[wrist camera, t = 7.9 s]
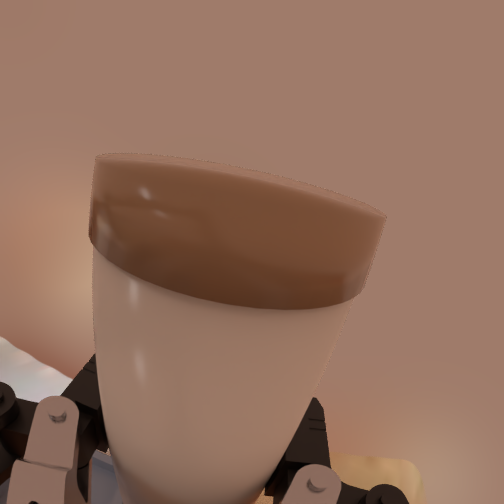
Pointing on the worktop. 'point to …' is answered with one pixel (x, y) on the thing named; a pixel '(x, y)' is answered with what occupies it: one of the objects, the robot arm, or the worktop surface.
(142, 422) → the canister
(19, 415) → the robot arm
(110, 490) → the dish
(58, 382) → the worktop surface
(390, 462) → the worktop surface
